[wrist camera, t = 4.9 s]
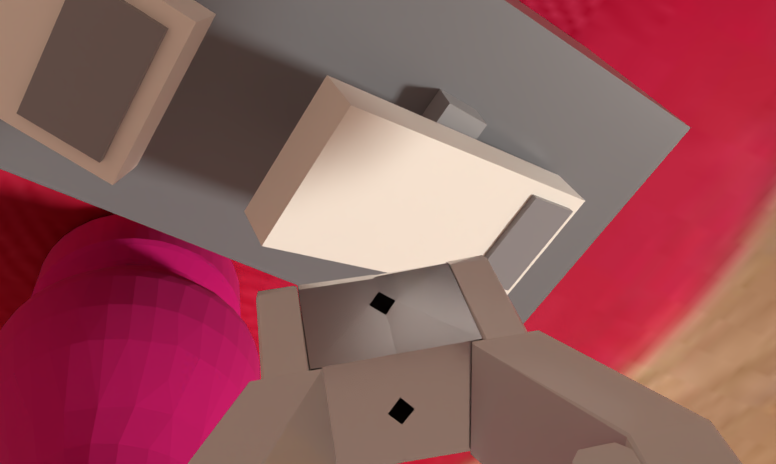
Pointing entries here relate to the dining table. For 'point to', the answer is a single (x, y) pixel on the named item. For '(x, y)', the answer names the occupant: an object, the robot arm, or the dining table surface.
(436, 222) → the paddle
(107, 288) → the pepper mill
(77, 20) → the paddle on
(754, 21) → the dining table surface
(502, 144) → the breaker panel
